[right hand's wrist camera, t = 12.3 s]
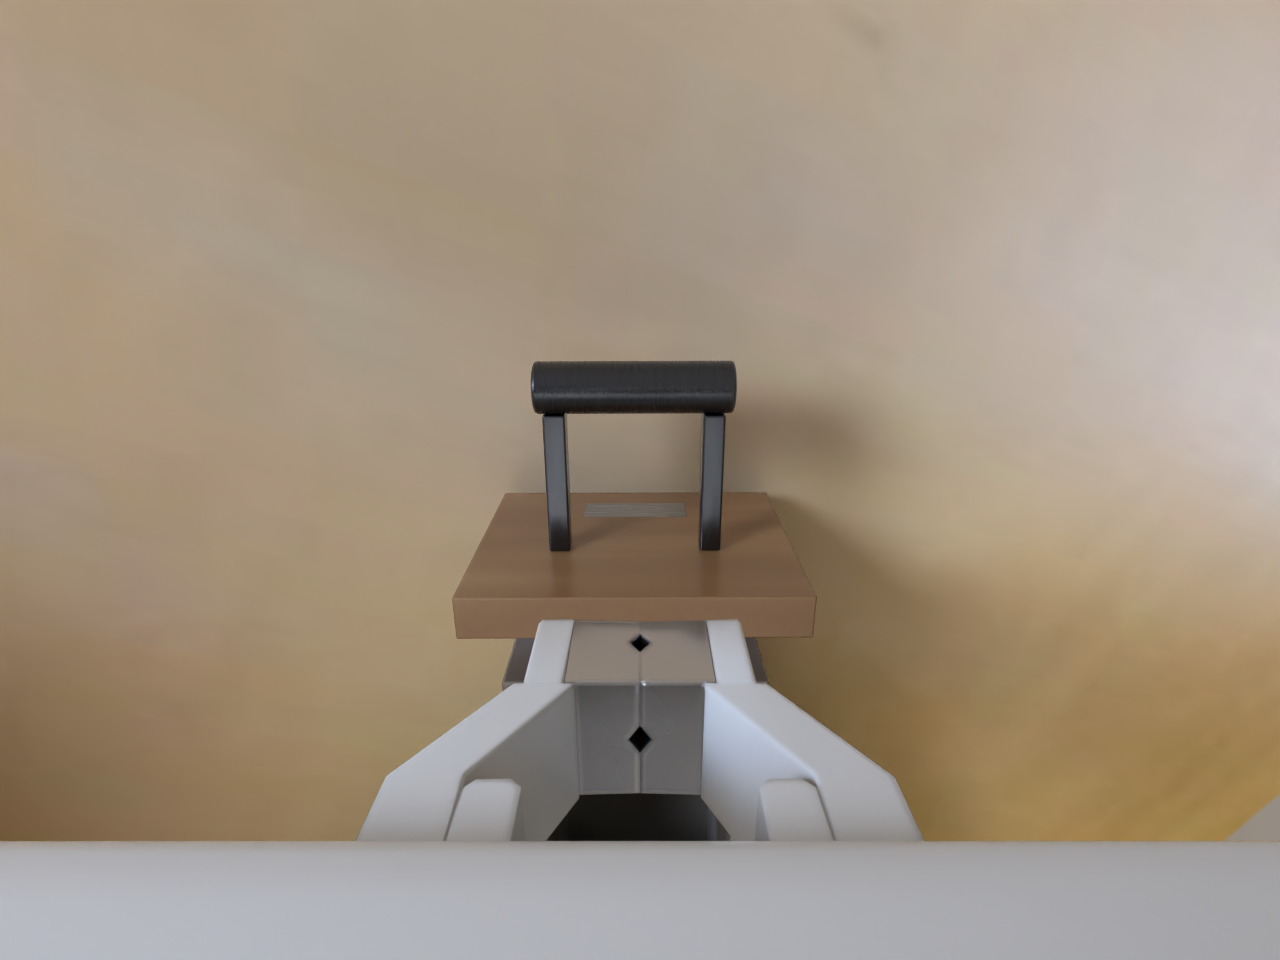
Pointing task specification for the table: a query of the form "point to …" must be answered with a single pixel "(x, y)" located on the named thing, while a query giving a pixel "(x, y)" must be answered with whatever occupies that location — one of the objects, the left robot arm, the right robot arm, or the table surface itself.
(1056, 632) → the table surface
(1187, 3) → the table surface
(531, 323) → the table surface
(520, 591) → the drawer
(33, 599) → the table surface
